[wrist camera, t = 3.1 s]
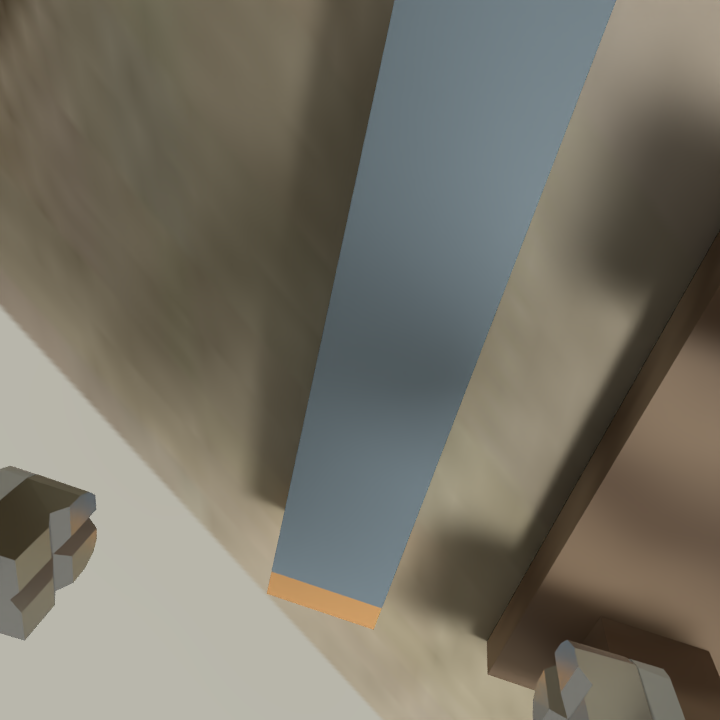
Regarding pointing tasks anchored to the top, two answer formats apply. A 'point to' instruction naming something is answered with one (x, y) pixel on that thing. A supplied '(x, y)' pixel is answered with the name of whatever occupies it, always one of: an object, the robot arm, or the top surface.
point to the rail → (423, 274)
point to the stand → (640, 526)
